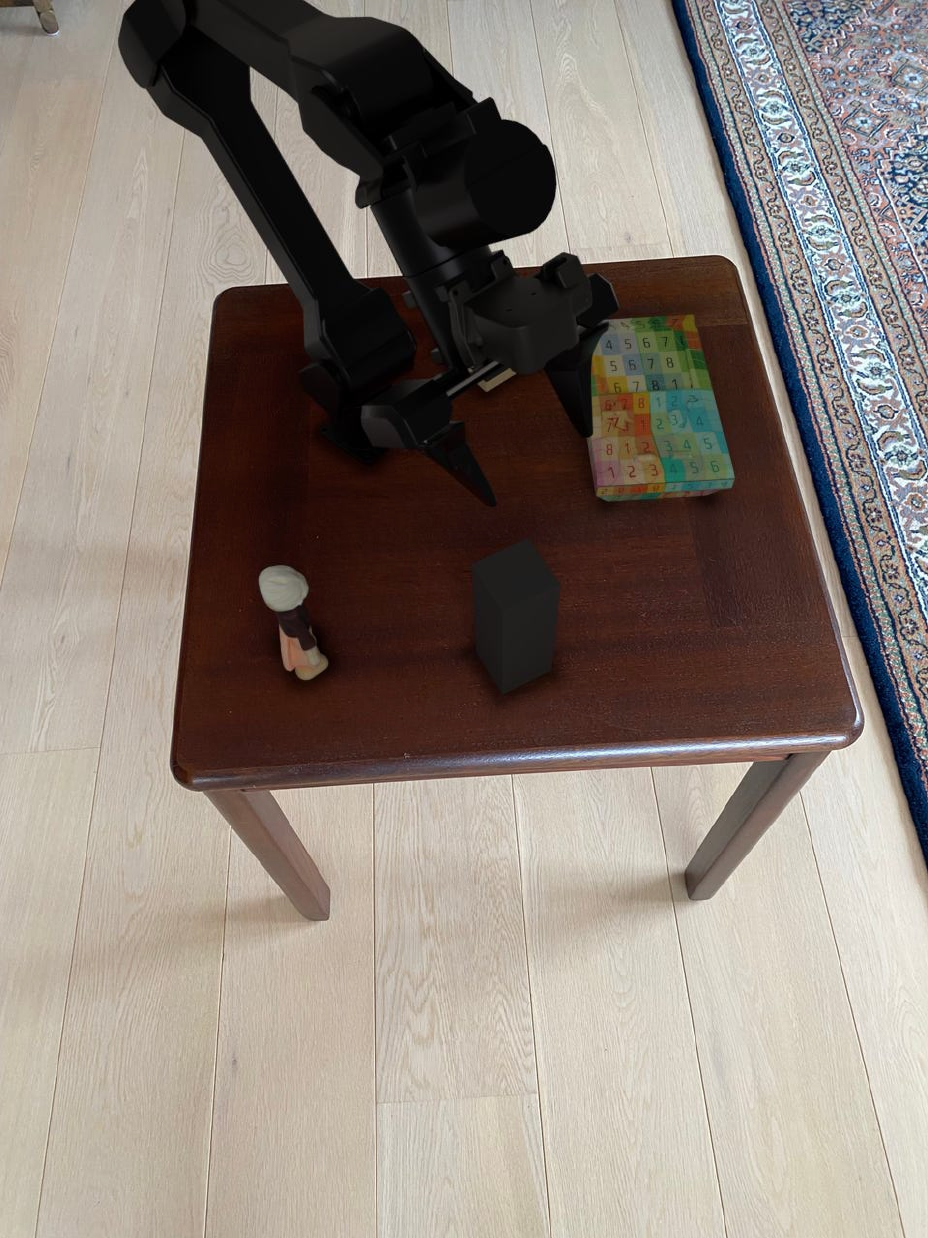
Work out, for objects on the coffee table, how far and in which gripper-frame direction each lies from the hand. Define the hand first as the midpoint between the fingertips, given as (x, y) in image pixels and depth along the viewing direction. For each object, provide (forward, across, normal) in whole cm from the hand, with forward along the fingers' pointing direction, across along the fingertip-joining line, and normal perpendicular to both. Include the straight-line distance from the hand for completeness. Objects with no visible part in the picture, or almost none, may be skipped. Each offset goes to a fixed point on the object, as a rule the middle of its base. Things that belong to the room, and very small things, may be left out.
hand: (540, 470), depth 65 cm
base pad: (-2, +15, +27) cm, 31 cm away
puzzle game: (+8, +20, +14) cm, 26 cm away
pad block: (+14, -6, +6) cm, 17 cm away
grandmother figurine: (+8, -19, +15) cm, 25 cm away
